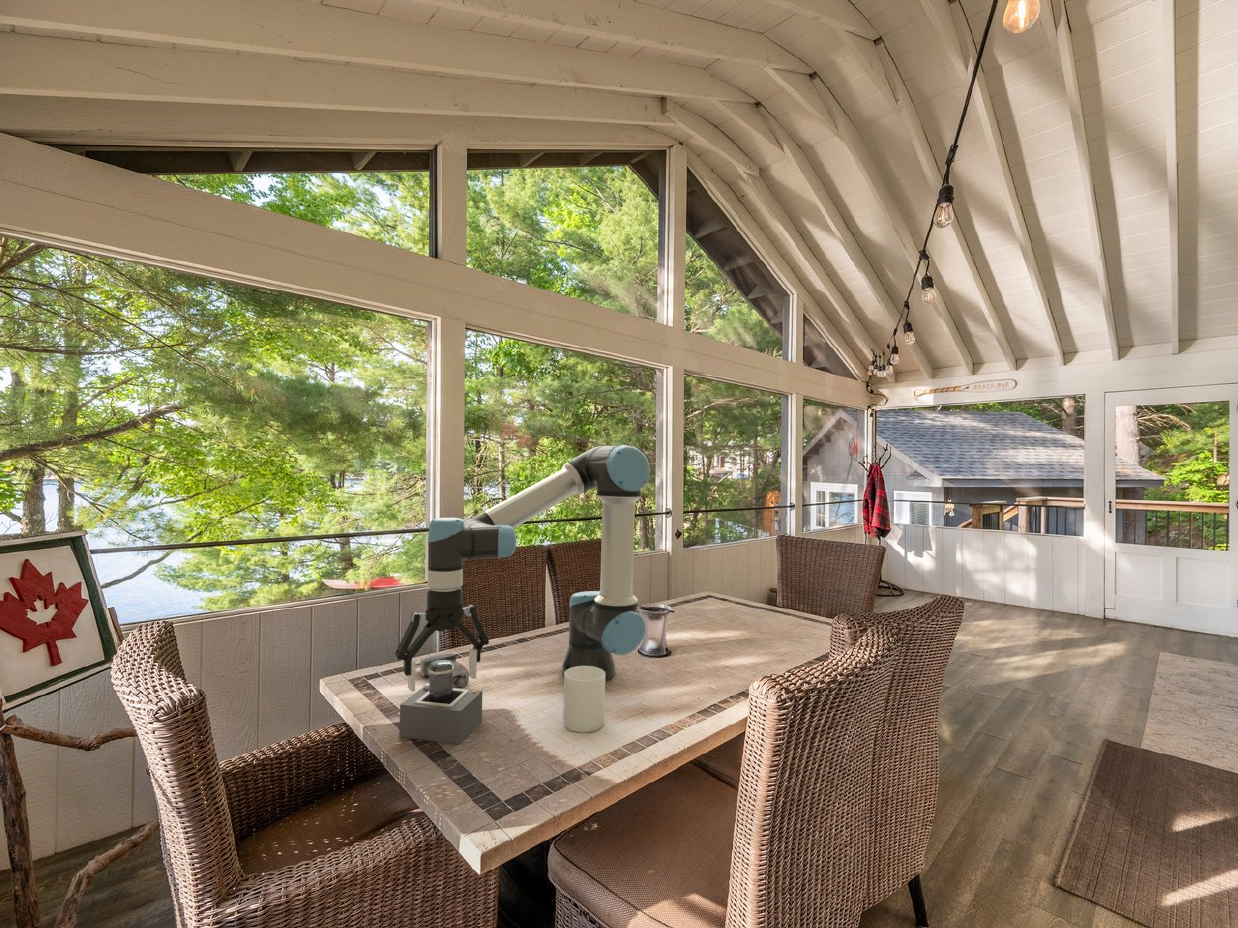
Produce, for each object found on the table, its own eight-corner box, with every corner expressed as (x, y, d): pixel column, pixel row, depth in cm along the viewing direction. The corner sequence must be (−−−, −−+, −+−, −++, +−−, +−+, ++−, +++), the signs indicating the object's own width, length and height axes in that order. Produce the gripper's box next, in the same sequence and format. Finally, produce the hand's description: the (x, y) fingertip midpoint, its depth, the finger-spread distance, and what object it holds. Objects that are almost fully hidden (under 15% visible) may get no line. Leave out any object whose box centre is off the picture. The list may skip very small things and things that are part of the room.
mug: (588, 737, 123) (589, 684, 123) (546, 723, 129) (547, 672, 129) (612, 721, 131) (613, 671, 131) (571, 708, 137) (572, 660, 137)
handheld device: (447, 695, 144) (447, 677, 144) (415, 673, 158) (415, 657, 158) (481, 686, 150) (481, 668, 150) (447, 665, 165) (447, 649, 165)
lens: (457, 704, 127) (457, 659, 127) (445, 714, 122) (446, 668, 122) (435, 702, 128) (436, 658, 128) (423, 712, 123) (424, 666, 123)
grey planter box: (481, 720, 130) (482, 687, 130) (459, 744, 119) (460, 707, 119) (425, 714, 132) (426, 681, 132) (399, 736, 121) (400, 700, 121)
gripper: (491, 579, 136) (489, 666, 136) (381, 590, 121) (379, 688, 122) (504, 585, 129) (502, 677, 129) (389, 597, 115) (387, 701, 115)
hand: (442, 682), depth 125 cm, fingers open, 13 cm apart
